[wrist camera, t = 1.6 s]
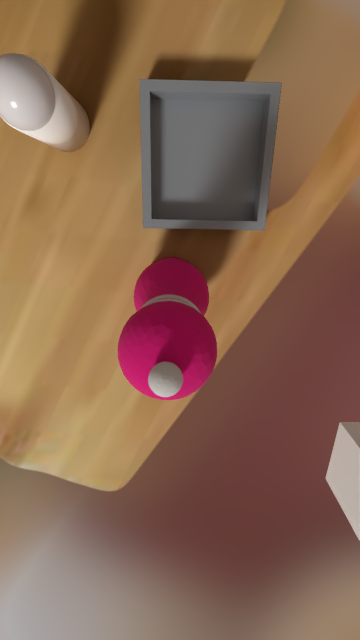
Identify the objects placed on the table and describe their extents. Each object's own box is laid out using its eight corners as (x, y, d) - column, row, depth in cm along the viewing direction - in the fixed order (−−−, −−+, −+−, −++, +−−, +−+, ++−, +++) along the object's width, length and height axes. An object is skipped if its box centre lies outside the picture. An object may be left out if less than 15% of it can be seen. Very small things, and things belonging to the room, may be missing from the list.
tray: (143, 90, 27) (139, 78, 24) (272, 93, 27) (281, 82, 24) (145, 226, 31) (143, 227, 28) (258, 228, 31) (264, 230, 29)
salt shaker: (38, 95, 27) (-39, 35, 17) (87, 96, 27) (38, 37, 17) (45, 151, 28) (-22, 124, 19) (91, 152, 28) (48, 126, 19)
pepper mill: (170, 237, 31) (159, 285, 13) (218, 284, 33) (271, 386, 14) (126, 286, 33) (58, 391, 14) (173, 328, 35) (168, 469, 16)
